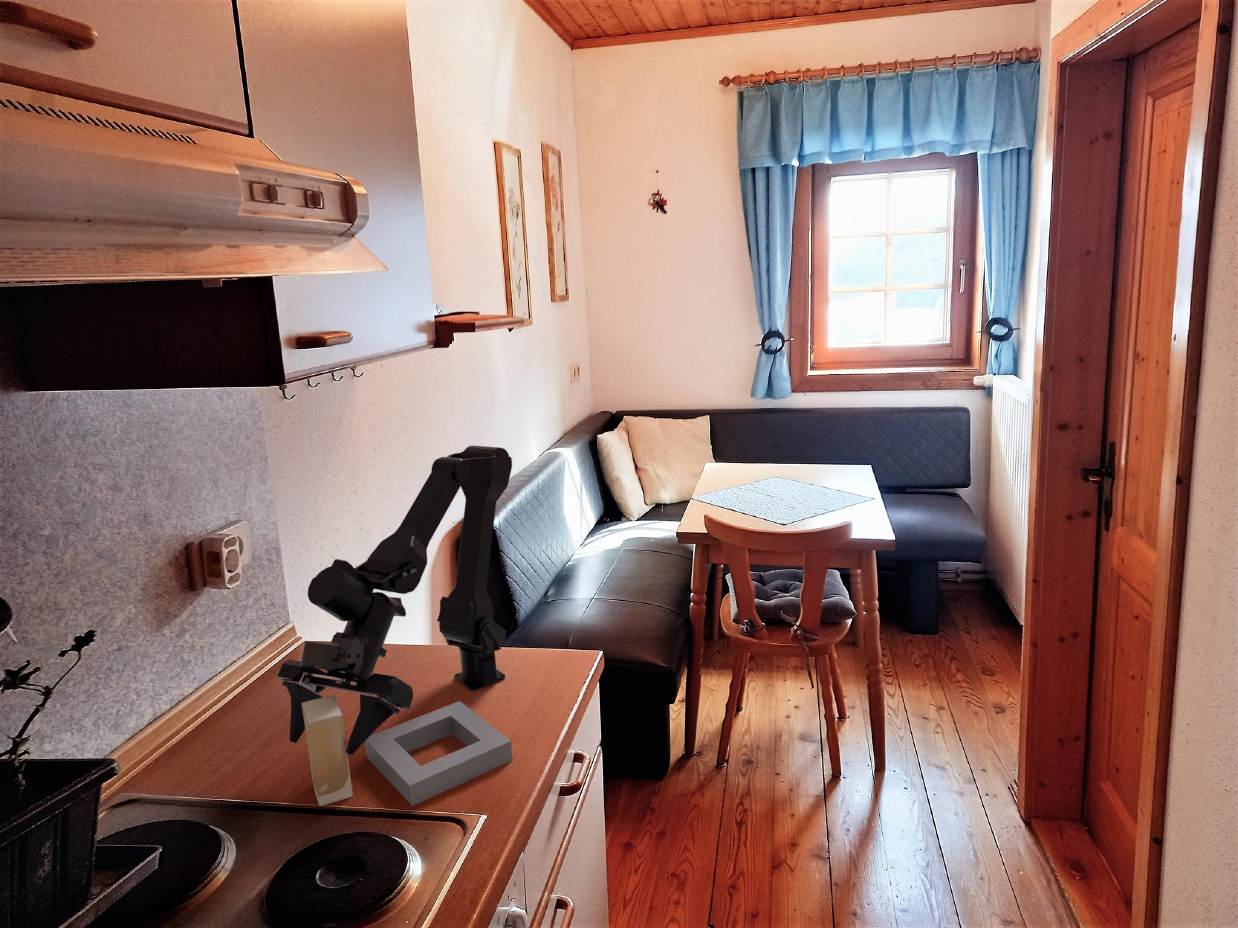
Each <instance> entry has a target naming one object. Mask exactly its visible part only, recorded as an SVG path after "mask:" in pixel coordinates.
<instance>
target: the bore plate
mask: <svg viewBox="0 0 1238 928" xmlns="http://www.w3.org/2000/svg"><path fill="white" fill-rule="evenodd" d="M451 735H454V737H455V738H457V739H458V740H459V741H460V742H462V744H464V745H465V747H462V748H461V749H458V750H455V751H453V752H451V753H449V754H447V755H444V756H441V757H440V758H437V759H435V760H432V761H430V762H427V763H425V764H423V765H421V764H420V763H419V762H418V761H416V760H415V759H414V757H412V756H411V754H409V753H410V752H413V751H415V750H417V749H420V748H423V747H425V746H427V745H430V744H432V743H434V742H437V741H439V740H442V739H445V738H447V737H449V736H451ZM364 745H365V746H364V749H365V753H366V758H367V759H368V761H370V762H371V764H373V766H374V767H376V769H377V770H378V771H379V772H380V773H381V774H382V775H383V776H384V778H385V779H387V781H388V782H389V783H390V784H391V785H392V786H393V787H394V789H396V791H397V792H399V794H400V795H401V796H402V797H403V798H404V799H405V800H406V802H407V803H409V804H410V806H411V807H414V806H416V805H418V804H420V803H423V802H425V801H427V800H428V799H431V798H434V797H435V796H438V795H439V794H442V793H445V792H447V791H449V790H450V789H453V788H456V787H457V786H460V785H462V784H464V783H466V782H469V781H471V780H472V779H475V778H477V777H480V776H481V775H484V774H486V773H488V772H491V771H493V770H495V769H496V768H499V767H501V766H503V765H505V764H508V763H510V762H512V761H513V760H514V759H513V749H512V740H510V739H509V738H508V737H506V736H505V735H504V734H502V733H501V732H500V731H498V729H496V728H495V727H494V726H492V725H491V724H490V723H488V722H487V721H486V720H484V718H482V717H481V716H479V714H477V713H476V712H474V711H473V710H472V709H471V708H469V707H468V706H467V705H465V704H464V703H463V702H461V701H455V702H453V703H451V704H448V705H446V706H443V707H441V708H438V709H435V710H434V711H431V712H428V713H425V714H423V715H420V716H417V717H415V718H412V719H409V720H407V721H405V722H401V723H400V724H397V725H395V726H392V727H390V728H387V729H385V730H382V731H379V732H376V733H373V734H371V735H370V736H369V738H368V739H367V740H366V741H365V742H364Z"/></svg>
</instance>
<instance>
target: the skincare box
mask: <svg viewBox="0 0 1238 928" xmlns="http://www.w3.org/2000/svg"><path fill="white" fill-rule="evenodd" d="M302 710H303V716H304V723H305V730H304V731H305V735H306V737H305V738H306V742H307V750H308V756H309V763H310V764H309V765H310V769H311V770H310V771H311V778H312V784H313V788H314V789H313V790H314V794H315V797H316V800H317V802H318V806H320V807H322V806H326V805H329V804H331V803H332V804H333V803H336V802H340V801H343V800H345V799H349V798H351V797H353V788H352V787H353V786H352V780H351V773H350V765H349V758H348V754H347V753H346V749H347V743H346V736H345V735H346V734H345V728H344V719H343V714H342V711H341V709H340V706H339V703H338V700H337V698H336V696H335V694H330V695H326V696H322V698H319V699H315V700H311V701H307V702H303V703H302Z"/></svg>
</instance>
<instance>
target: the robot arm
mask: <svg viewBox="0 0 1238 928" xmlns="http://www.w3.org/2000/svg"><path fill="white" fill-rule="evenodd" d="M512 468H513V459H512V457H511V456H510V455H509V452H508V451H507V449H505V448H503V447H497V446H496V447H495V446H486V445H469V446H467V447H465V449H464V450H463V451H461V452H460V451H459V452H456V453H451V454H448V455H447V456H441V457H439V458H438V457H437V458H436V459H435V460H434V461H433V463H432V465H431V472H430V474H429V476H428V477H427V478H426V481H425V482H424V484H423V486H422V487H421V489H420V491H419V492H418V494H417V496H416V498H415V499H414V500H413V503H412V504H411V506H410V508H409V509H408V512H407V513H406V514H405V516H404V517H403V520H402V522H401V523H400V525H399V526H398V527H397V529H396V530H395V531H394V532H393V533H392V534H390V535H389V536H387V537H386V538H384V539H383V540H381V541H380V542H379V543H378V545H377V546H376V547H375V549H374V550H373V551H372V552H371V553H370V555H369V556H368V557H367V559H366V560H365V561H363V562H362V563H360V564H359V565H357V566H356V567H354V566H353V565H352V564H351V563H350V562H349V561H347V560H344V559H339V558H335V559H334V560H333V562H332V563H331V565H330V566H328V567H325V568H324V569H322V570H321V571H319V573H317V574H316V576H315V577H313V578H312V579H311V581H310V583H309V585H308V587H307V598H308V600H309V602H310V603H311V604H313V605H314V606H316V607H318V608H319V609H320V610H322V611H325V612H326V613H328V614H329V615H330V616H332V617H334V618H336V619H337V620H339V621H341V622H346V624H345V627H344V629H343V632H340V631H336V632H335V634H333V636H332V639H331V641H328V640H327V641H326V640H305V641H304V644H303V651H302V656H301V660H296V659H288V660H286V661H285V662H282V664H281V665H280V668H279V670H278V673H277V674H276V678H277V679H278V680H280V681H281V684H282V687H284V688H286V689H287V691H288V693H289V697H290V723H289V724H290V725H289V738H288V739H289V743H292V744H296V743H298V741H299V740H300V738H301V737H302V735H303V734H304V732H305V731H306V730H305V723H304V716H303V710H302V703H303V702H307V701H311V700H315V699H319V698H322V697H323V696H322V695H320V694H319V693H321V692H322V691H324V690H325V689H326V688H329V689H335V690H340V691H345V692H351V693H357V694H359V706H360V707H359V713H358V714H357V717H356V720H355V723H354V724H353V729H352V732H351V734H350V736H349V739H348V743H347V744H346V753H347V755H351V756H352V755H354V754H355V753H356V752H357V750H358V749H359V748H361V746H362V745H363V744H365V741H366V740H367V739H368V738H369V736H371V735H373V734H374V733H375V731H376V730H377V729H379V727H381V726H382V725H383V724H384V723H385V722H386V721H387V720H388V719H389V718H391V717H392V716H393V715H394V714H396V715H399V714H400V712H401V710H400V709H405V710H409V709H410V708H411V705H412V701H413V699H414V691H413V687H412V686H410V685H409V684H408V683H406V682H405V681H404V680H403V681H402V680H401V679H399V678H398V677H397V676H394V675H388V674H383V673H376V672H374V670H375V667H376V665H377V662H378V659H379V658H386V654H387V653H388V651H387V649H386V648H383V646H384V643H385V641H386V638H387V636H388V633H389V631H390V629H391V628H390V627H391V625H392V623H393V620H394V617H406V616H407V612H406V608H405V607H404V605H403V603H402V602H403V601H402V598H401V597H397V596H396V597H394V596H388V595H387V594H385V593H384V592H388V593H393V594H394V593H395V594H399V595H406V594H409V593H412V592H414V591H415V590H416V589H417V587H418V586H419V584H420V583H421V579H422V577H423V574H424V572H425V570H426V567H427V564H428V550H427V549H428V547H429V544H430V542H431V540H432V539H433V537H434V534H435V533H436V531H437V529H438V527H439V525H440V524H441V522H442V521H443V519H444V517H445V515H446V513H447V511H448V510H449V508H450V506H451V504H452V502H453V500H454V499H455V497H456V495H457V494H458V492H459V490H460V488H461V491H462V492H463V495H464V498H465V502H464V503H465V504H464V511H463V520H462V529H461V535H460V536H461V537H460V545H459V555H458V561H457V568H456V570H457V571H456V579H455V585H454V588H453V589H452V590H451V592H449V594H448V596H442V597H441V598H440V600H439V614H438V617H437V619H436V622H438V627H439V632H440V633H441V634H442V636H443V638H444V639H445V643H446V644H447V645H448V646H449V647H450V646H453V647H457V648H459V649H458V650H459V658H460V668H461V671H460V672H458V673H455V674H454V675H453V678H454V680H456V681H458V682H459V683H460V684H462V685H463V686H464V687H466V688H467V689H469V690H470V691H476V690H478V689H482V688H484V687H486V686H489V685H491V684H494V683H496V682H500V681H501V680H504V679H506V674H505V673H503V672H502V671H500V670H498V669H497V659H496V652H497V651H500V650H501V649H502V646H503V645H505V643H506V637H507V630H506V629H505V628H504V627H502V626H501V625H499V624H498V623H497V622H495V620H494V605H493V603H492V599H491V597H490V596H489V593H488V591H487V585H488V576H489V575H488V574H489V567H490V566H489V565H490V559H491V550H492V543H493V542H492V541H493V532H494V524H495V515H496V509H497V502H498V500H499V499H500V498H501V497H502V496H503V494H504V492H505V491H506V490H507V488H508V487H509V481H510V477H511V473H512V470H513V469H512ZM375 590H377V591H375ZM378 590H379V591H378ZM380 591H383V592H380ZM373 672H374V673H373ZM352 683H353V684H352Z"/></svg>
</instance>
